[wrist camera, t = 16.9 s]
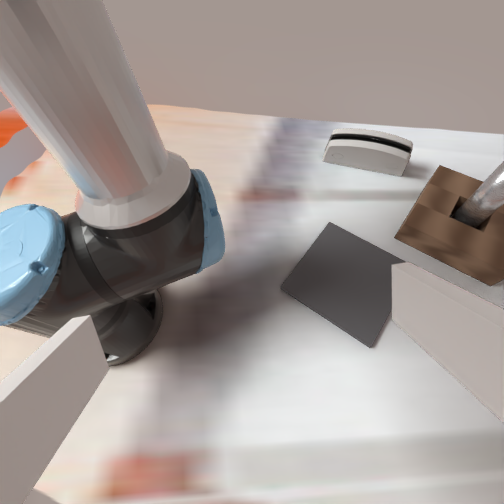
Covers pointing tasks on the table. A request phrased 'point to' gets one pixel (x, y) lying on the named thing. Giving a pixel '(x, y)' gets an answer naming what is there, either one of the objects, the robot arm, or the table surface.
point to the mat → (345, 282)
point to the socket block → (455, 228)
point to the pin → (483, 200)
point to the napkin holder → (368, 150)
